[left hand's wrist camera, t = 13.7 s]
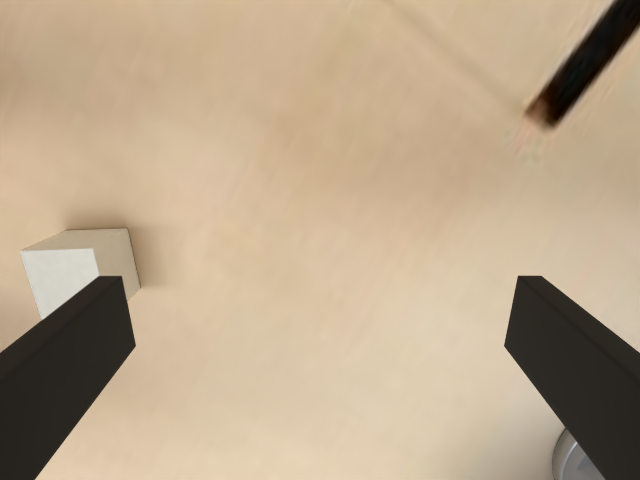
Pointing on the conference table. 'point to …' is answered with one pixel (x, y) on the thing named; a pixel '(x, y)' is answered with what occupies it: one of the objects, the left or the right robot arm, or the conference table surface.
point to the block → (77, 264)
